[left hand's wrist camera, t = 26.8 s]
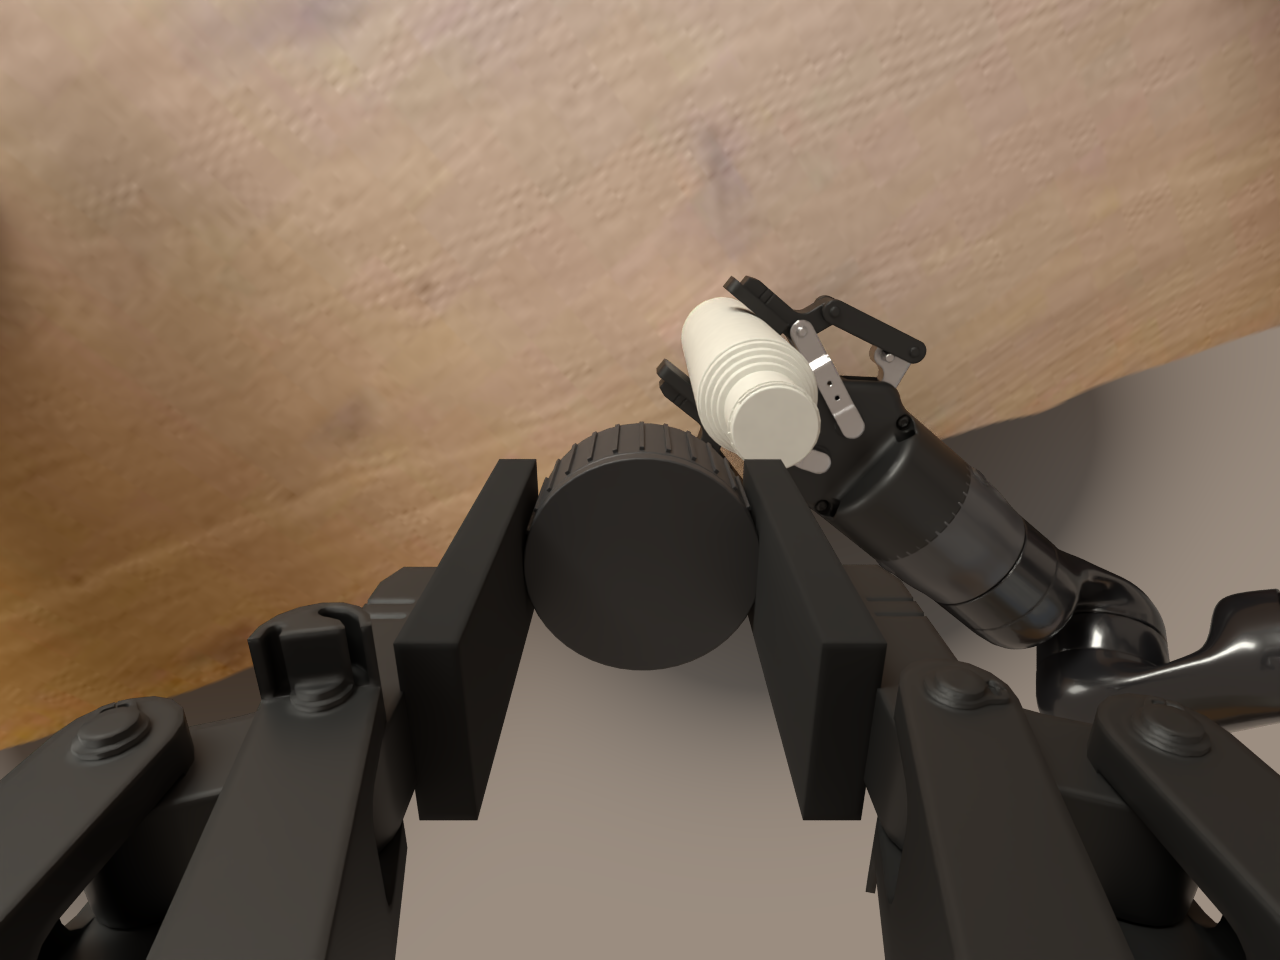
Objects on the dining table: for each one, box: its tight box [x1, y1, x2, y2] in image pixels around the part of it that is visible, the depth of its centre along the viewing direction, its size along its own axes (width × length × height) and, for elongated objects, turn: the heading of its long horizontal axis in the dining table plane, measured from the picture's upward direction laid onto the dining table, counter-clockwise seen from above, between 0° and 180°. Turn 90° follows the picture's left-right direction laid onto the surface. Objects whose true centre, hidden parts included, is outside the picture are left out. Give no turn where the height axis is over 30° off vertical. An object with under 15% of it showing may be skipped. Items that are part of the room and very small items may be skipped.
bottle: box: [681, 297, 821, 468], centre depth 34 cm, size 5×5×21 cm
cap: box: [523, 422, 759, 670], centre depth 13 cm, size 4×4×2 cm
